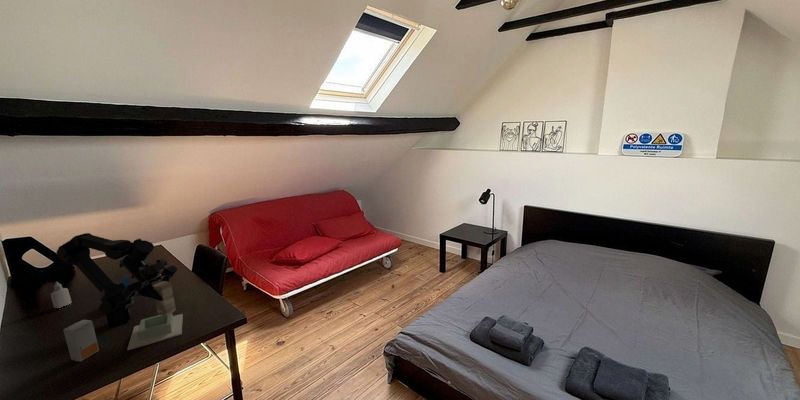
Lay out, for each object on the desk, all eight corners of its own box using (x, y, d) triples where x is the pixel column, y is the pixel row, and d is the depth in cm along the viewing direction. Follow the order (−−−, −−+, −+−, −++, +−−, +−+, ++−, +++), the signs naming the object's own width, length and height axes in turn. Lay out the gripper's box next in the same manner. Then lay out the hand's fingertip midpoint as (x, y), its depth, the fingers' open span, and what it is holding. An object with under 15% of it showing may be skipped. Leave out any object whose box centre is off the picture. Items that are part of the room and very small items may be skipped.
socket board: (127, 350, 115) (125, 340, 114) (134, 327, 128) (132, 318, 127) (181, 334, 123) (179, 325, 122) (182, 314, 136) (181, 306, 135)
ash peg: (158, 314, 124) (152, 285, 121) (167, 308, 127) (162, 280, 125) (166, 315, 123) (161, 287, 120) (176, 310, 127) (170, 282, 124)
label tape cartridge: (119, 301, 149) (113, 276, 146) (130, 297, 152) (124, 273, 149) (123, 307, 143) (117, 281, 140) (135, 303, 146) (129, 278, 143)
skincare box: (80, 362, 109) (72, 330, 107) (71, 360, 110) (62, 329, 108) (100, 350, 115) (92, 320, 113) (91, 348, 116) (82, 319, 113)
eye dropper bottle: (73, 305, 146) (66, 281, 143) (55, 311, 142) (48, 286, 139) (71, 302, 149) (64, 278, 146) (53, 307, 144) (46, 283, 142)
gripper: (121, 265, 112) (153, 297, 112) (170, 246, 130) (197, 274, 130) (109, 284, 115) (139, 315, 115) (157, 262, 133) (184, 290, 133)
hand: (167, 297), depth 123 cm, fingers closed on ash peg, 4 cm apart
